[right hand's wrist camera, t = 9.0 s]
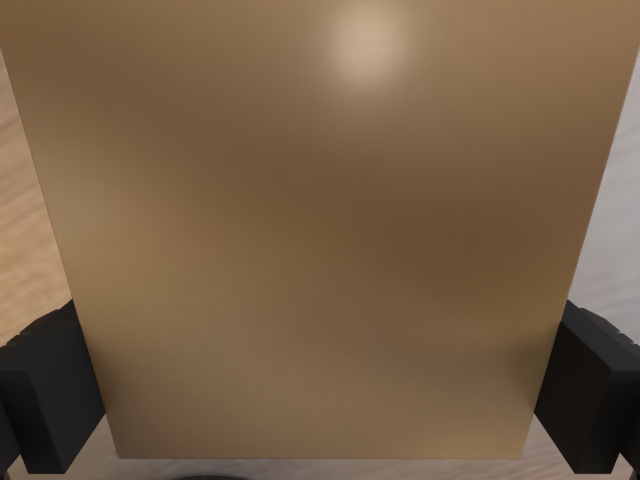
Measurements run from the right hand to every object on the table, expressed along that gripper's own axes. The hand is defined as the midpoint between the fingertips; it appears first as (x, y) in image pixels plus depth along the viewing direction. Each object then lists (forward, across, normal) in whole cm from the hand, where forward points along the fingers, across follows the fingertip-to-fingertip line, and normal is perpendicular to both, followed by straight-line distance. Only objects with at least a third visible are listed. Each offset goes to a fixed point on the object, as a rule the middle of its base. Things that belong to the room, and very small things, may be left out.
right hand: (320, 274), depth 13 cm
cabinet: (+6, 0, -6) cm, 9 cm away
